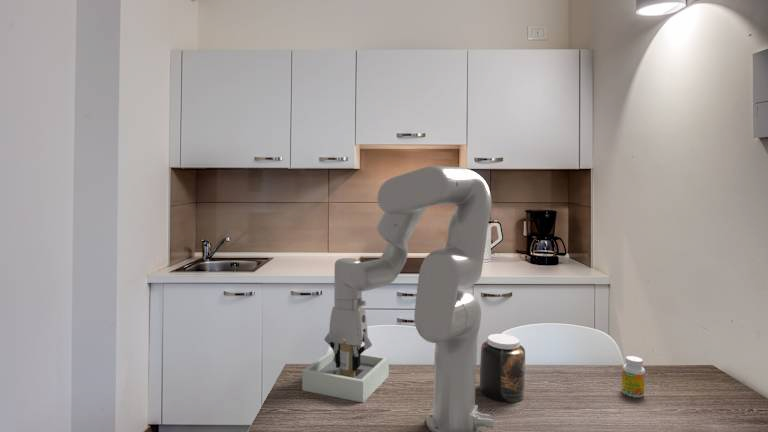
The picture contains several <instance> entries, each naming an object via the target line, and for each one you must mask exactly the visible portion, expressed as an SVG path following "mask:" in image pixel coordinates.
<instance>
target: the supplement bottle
mask: <svg viewBox="0 0 768 432" xmlns="http://www.w3.org/2000/svg"><path fill="white" fill-rule="evenodd" d="M643 363H644V361H643V358H641V357H638V356H634V355H629V356H628V355H627V356H626V357H625V364H623V365H622V373H621V375H622V377H621V392H622V394H624V395H625V394H627V395H626V396H628V395H629V396H628V397H631V396H633V397H632V398H643V397H644V395H645V382H646V381H645V380H646V379H645V378H646V370H645V368H644V367H643V365H644V364H643Z"/></svg>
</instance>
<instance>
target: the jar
mask: <svg viewBox="0 0 768 432" xmlns="http://www.w3.org/2000/svg"><path fill="white" fill-rule="evenodd" d="M479 364H480V369H479V391H480V394H481V395H482V396H483V397H485V398H486V397H487V399H488V398H489V399H488V400H491V401H495V402H497V401H498V402H497V403H503V402H507V403H508V402H514V403H518V402H521V401H522V400H523V399H524V398H523V397H525V384H526V382H525V381H526V380H525V379H526V350H525V347H524V346H522V345H521V344H520V339H519V338H517V336H513V335H510V334H505V333H493V334H489V335H487V340H486V341H484V342H483V343H482V344H481V348H480V363H479ZM521 399H522V400H521ZM520 400H521V401H520ZM517 401H518V402H517ZM507 403H506V404H507ZM508 404H509V403H508Z"/></svg>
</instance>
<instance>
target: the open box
mask: <svg viewBox="0 0 768 432" xmlns="http://www.w3.org/2000/svg"><path fill="white" fill-rule="evenodd" d="M389 364H390V357H387V356H381V355H374V354H367V353H364V352H362V353H361V354H360V366H359V368H358V369H356V370H355V376H356V377H355V378H352V377H346V376H341V375H340V367H339V368H336V363H335V353H334V352H333V349H331V350H330V351H328V352H327V353H326V354H324V355H323V356H321V357H320V358H318V359H317V360H315V361H314V362H313V363H311V364H310V365H308V366H307V367H306V368H304V369H302V371H301V372H302V373H301V375H302V380H301V382H302V383H301V384H302V385H301V387H302V389H301V390H302V391H303V392H308V393H314V394H319V395H323V396H329V397H333V398H338V399H342V400H343V399H344V400H346V401H347V400H349V401H353V402H358V403H365V402H366V401H367V399H368V398H369V397H370V396H371V395H372V394H373V393H374V392H375V391H376V390H377V389H378V388H379V387H380V386H381V385H382V384H383V382H384V381H386V380H387V378H389V372H390V371H389V369H390V368H389V366H390V365H389Z"/></svg>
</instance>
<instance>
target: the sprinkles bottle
mask: <svg viewBox="0 0 768 432" xmlns="http://www.w3.org/2000/svg"><path fill="white" fill-rule="evenodd" d="M342 340H344V341H343V342H344V343H343V344H340V375H341V376H346V377H352V378H355V377H356V376H355V371H353V370H352V357H353V356H354V351H353V346H352V345H348V344H346V343H345V341H346V339H345V338H344V339H342Z"/></svg>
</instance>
